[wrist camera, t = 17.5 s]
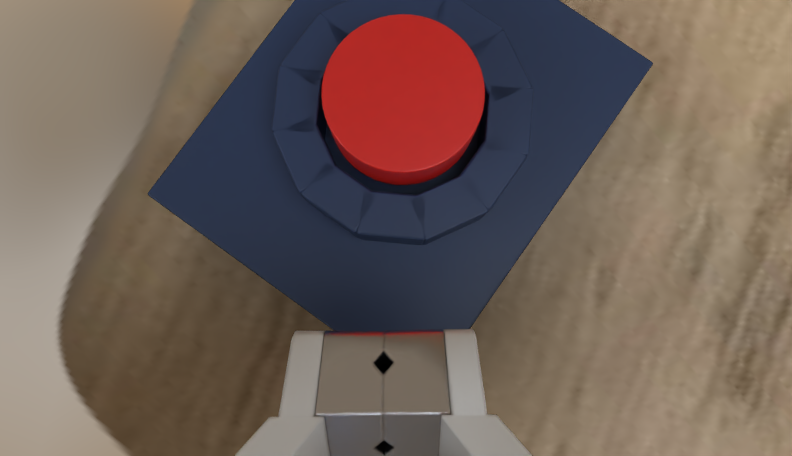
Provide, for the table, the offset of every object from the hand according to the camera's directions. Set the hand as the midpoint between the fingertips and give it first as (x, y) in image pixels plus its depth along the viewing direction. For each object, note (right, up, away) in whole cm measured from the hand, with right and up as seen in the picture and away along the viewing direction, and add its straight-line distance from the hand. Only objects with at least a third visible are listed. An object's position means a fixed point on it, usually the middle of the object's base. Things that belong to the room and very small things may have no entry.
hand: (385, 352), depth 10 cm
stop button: (0, +5, +6) cm, 8 cm away
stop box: (0, +5, +11) cm, 12 cm away
